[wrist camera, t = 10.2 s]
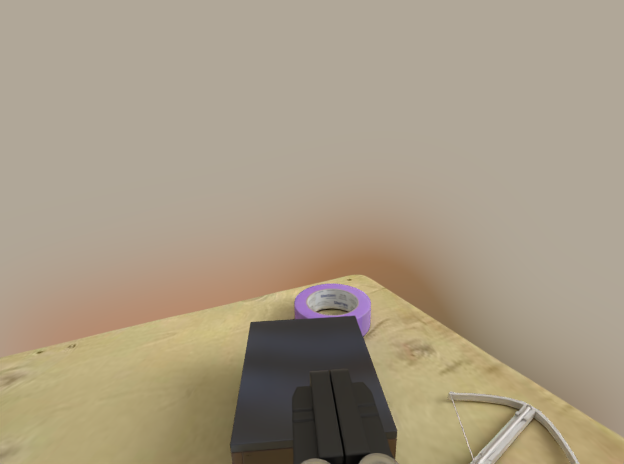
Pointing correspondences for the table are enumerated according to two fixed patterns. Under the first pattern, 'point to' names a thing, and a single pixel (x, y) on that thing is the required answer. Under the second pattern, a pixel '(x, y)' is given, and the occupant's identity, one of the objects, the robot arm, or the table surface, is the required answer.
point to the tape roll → (334, 303)
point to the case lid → (296, 375)
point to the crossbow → (510, 427)
